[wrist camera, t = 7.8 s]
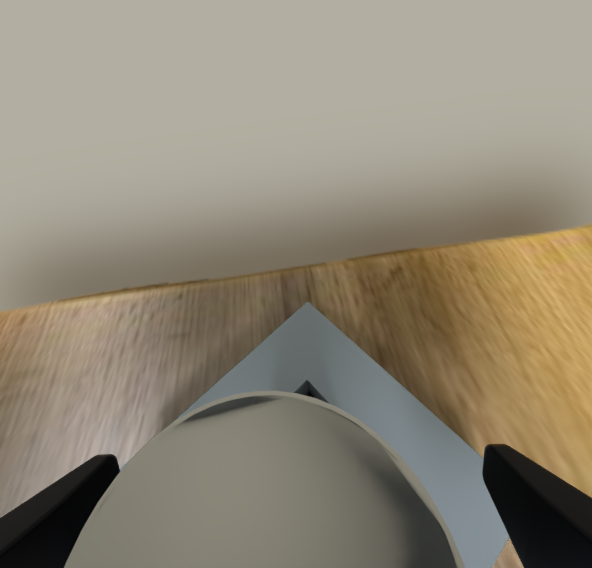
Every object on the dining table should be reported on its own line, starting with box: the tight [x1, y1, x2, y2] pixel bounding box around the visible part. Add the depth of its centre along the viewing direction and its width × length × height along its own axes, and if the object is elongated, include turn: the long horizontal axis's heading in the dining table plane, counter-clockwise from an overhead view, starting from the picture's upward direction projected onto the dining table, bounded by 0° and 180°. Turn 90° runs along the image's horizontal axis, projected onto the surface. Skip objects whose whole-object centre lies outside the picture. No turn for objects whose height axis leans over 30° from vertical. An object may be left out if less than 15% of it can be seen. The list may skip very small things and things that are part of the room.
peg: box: [64, 391, 465, 568], centre depth 8 cm, size 4×4×12 cm
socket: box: [120, 301, 509, 568], centre depth 12 cm, size 11×11×3 cm
